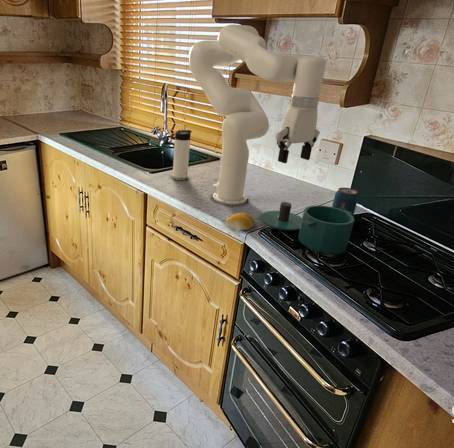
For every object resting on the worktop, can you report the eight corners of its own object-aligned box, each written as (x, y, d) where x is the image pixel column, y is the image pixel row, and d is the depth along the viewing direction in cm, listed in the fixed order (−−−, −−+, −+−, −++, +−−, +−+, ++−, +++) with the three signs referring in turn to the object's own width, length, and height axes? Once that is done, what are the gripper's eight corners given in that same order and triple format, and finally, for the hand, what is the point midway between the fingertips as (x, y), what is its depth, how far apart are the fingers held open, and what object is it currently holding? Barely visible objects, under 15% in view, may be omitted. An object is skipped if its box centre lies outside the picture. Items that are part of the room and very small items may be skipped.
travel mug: (190, 179, 169) (194, 132, 160) (175, 180, 167) (178, 132, 158) (184, 175, 174) (188, 128, 165) (170, 176, 172) (173, 129, 163)
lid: (250, 218, 136) (253, 199, 133) (282, 211, 142) (285, 193, 140) (282, 236, 124) (286, 216, 121) (315, 227, 131) (319, 208, 128)
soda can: (344, 220, 138) (353, 187, 132) (354, 229, 131) (363, 194, 126) (324, 219, 137) (332, 186, 132) (333, 228, 131) (342, 193, 126)
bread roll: (257, 224, 131) (258, 213, 129) (245, 234, 124) (247, 222, 122) (234, 217, 135) (235, 206, 133) (221, 226, 128) (222, 214, 127)
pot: (282, 240, 122) (287, 211, 118) (324, 228, 131) (331, 201, 127) (318, 260, 111) (326, 229, 107) (361, 246, 120) (370, 217, 116)
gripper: (314, 100, 124) (303, 154, 131) (273, 102, 115) (264, 160, 123) (334, 103, 118) (322, 160, 125) (292, 106, 110) (282, 166, 117)
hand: (293, 160), depth 124 cm, fingers open, 9 cm apart
